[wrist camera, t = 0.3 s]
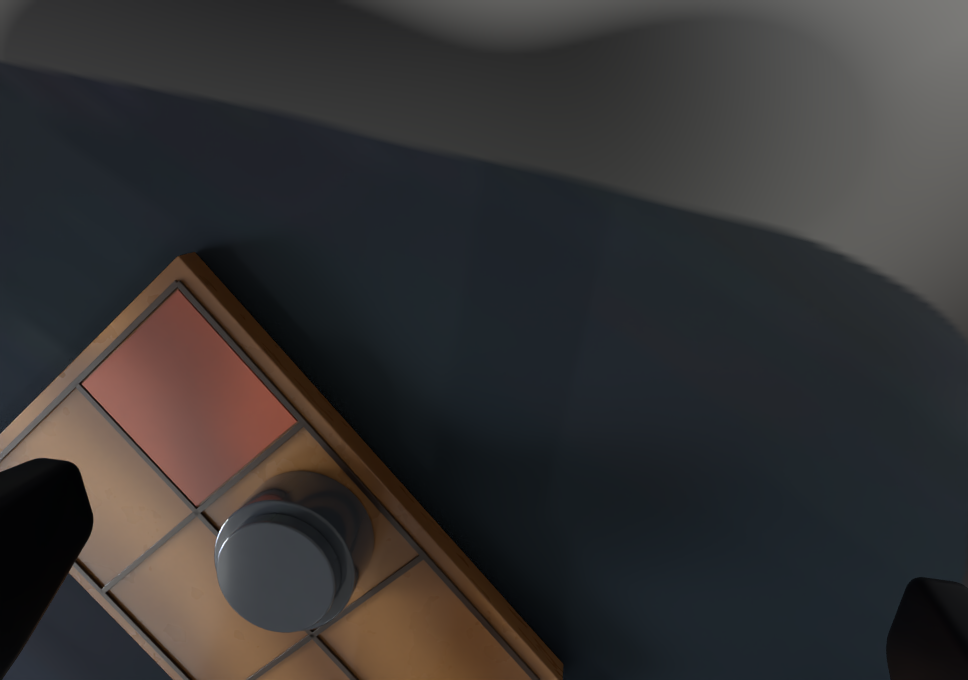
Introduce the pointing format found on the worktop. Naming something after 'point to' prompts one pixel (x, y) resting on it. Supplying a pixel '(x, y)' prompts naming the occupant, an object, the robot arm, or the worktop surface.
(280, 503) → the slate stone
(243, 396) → the wooden grid board
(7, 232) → the worktop surface
